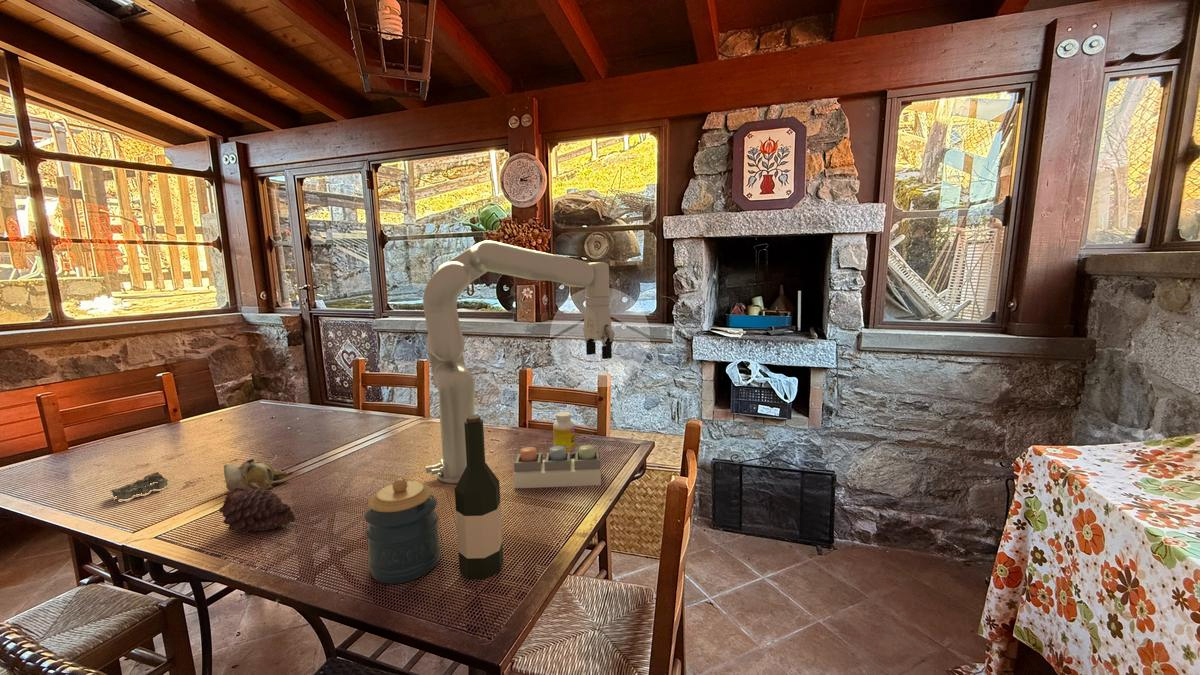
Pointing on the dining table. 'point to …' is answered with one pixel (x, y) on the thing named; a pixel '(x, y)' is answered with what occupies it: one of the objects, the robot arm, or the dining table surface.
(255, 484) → the ceramic sculpture
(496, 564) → the wine bottle
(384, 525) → the canister
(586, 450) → the sage button
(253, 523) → the pine cone
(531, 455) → the terracotta button
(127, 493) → the tree bark piece
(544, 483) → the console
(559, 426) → the supplement bottle
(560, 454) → the slate button
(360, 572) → the dining table surface
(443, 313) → the robot arm
